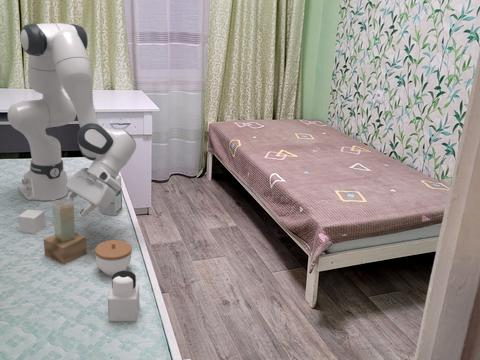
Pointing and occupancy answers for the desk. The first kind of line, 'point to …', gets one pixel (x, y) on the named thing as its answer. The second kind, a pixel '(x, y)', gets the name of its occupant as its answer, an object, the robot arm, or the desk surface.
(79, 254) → the walnut block
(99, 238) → the desk surface
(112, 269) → the lidded jar
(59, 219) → the tea tin
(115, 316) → the medicine bottle
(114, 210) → the syrup box
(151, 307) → the desk surface
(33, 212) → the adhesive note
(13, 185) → the desk surface
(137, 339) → the desk surface
